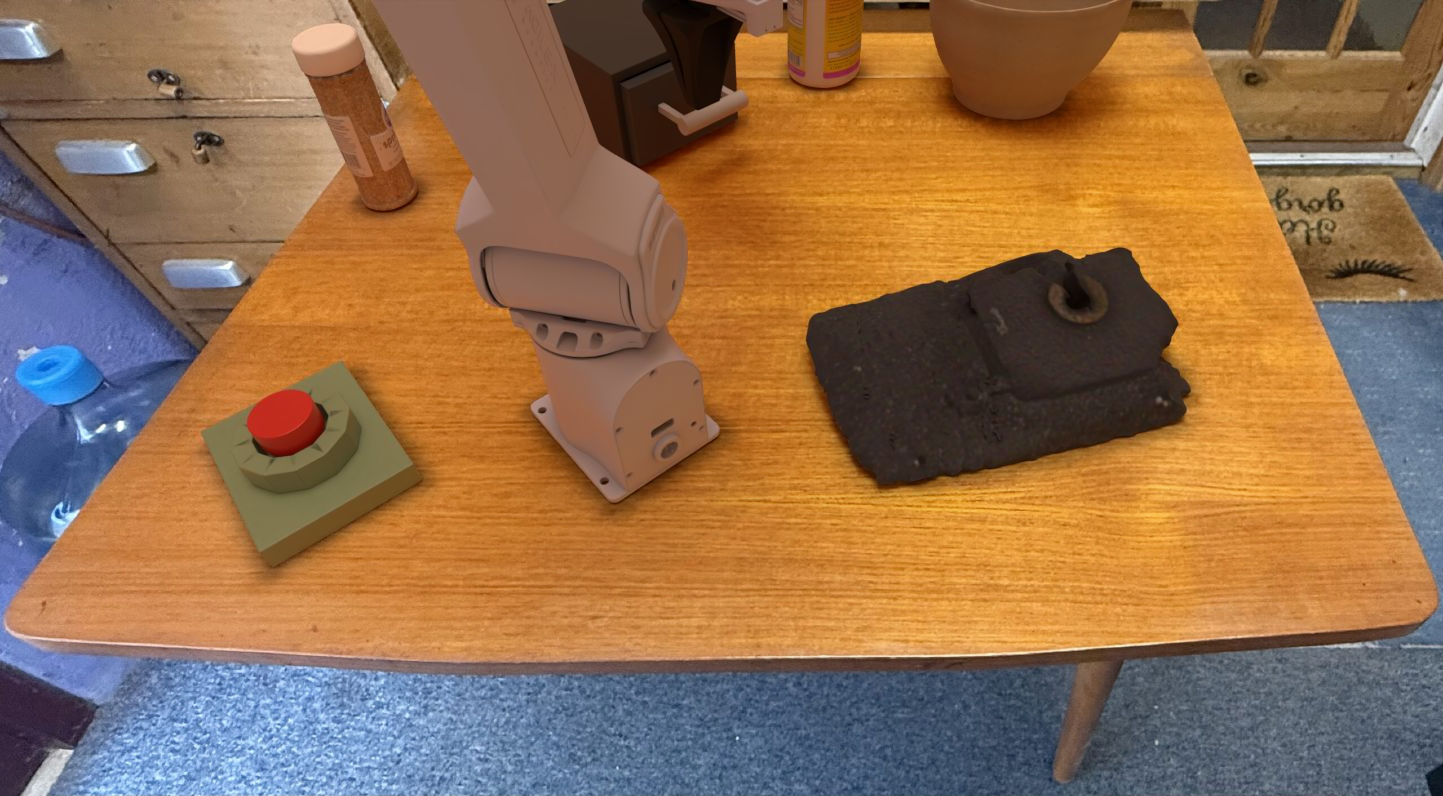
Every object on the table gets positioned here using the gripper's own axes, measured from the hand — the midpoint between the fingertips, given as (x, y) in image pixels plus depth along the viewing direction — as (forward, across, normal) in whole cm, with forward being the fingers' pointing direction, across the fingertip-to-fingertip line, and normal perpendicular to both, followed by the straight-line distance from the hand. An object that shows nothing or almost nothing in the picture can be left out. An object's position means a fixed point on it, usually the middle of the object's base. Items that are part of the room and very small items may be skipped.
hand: (703, 102), depth 57 cm
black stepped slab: (+10, -24, -3) cm, 26 cm away
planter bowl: (+9, -4, -30) cm, 32 cm away
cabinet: (+9, +16, -4) cm, 19 cm away
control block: (+9, -4, +33) cm, 34 cm away
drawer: (+8, +12, -4) cm, 15 cm away
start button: (+6, -4, +33) cm, 34 cm away
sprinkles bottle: (+10, +20, +18) cm, 28 cm away
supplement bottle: (+9, +10, -21) cm, 25 cm away
